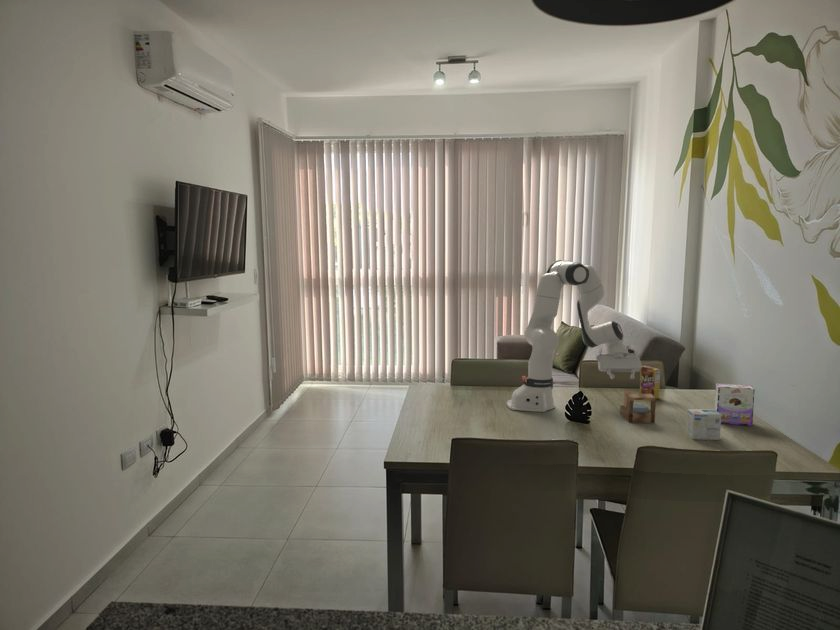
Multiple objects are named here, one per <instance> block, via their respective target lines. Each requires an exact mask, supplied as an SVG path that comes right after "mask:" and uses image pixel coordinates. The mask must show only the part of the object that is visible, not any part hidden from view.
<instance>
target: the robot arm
mask: <svg viewBox="0 0 840 630" xmlns="http://www.w3.org/2000/svg"><path fill="white" fill-rule="evenodd" d="M564 285H567V286H576V287H577V290H578V291H579V292H578V293H579V299H578V300H577V303H576V308H577V313H578V319H579V323H580V324H579V325H580V328H581V336H582V341H583V343H584V345H585V346H587V348H591V349H593V348H595V347H598V346H602V345H605V346H606V353H599V354H598V355H596V357H595V358H596V361H597V364H598V366H597V367H598V371H599V372H600V373H601V372H603V373H604V372H606V374H607V375H608V376H609V377H610V380H615V378H616V376H615V374H614V373H615V372H617V373H618V372H619V373H623V372H624V373H625V372H627V373H629V372H630V373H631V374H630V376H629V378H630V380H634V379H635V378H636V377H635V373H636V372H641V369H642V366H643V364H642V362H641V359H640V357H639V355H637V350H636V349H632V348H628V347H626V346H625V344H624V333H623V330H622V327H621V325H620V323H618V322H616V321H613V320H612V321H607V322H604V323H602V324H601V323H600V324H598V325H594V326H590V322H589V317H588V313H589V312H590V310H591V309H592V308H593V307H596V305H598V304H599V303H600V302H601V301H602V299H604V294H605V290H604V286H603V282H602V280H601V279H600V276H599V275H598V273H597V271H596V270H595V268H594V267H593V266H592V265H590V264H582V263H580V262H576V261H572V260H561V259H559V260H555V261H553V262H551V263H550V264H549V267H548V268H547V271H546V273H544V274H542V275H541V276H540V279H539V281H538V284H537V287H536V293H535V298H534V305H533V309H532V314H531V316H530V319H529V322H528V324H527V325H528V326H526V328H525V330H524V338H525V340H526V342H527V343H528V345H531V347H532V350H531V353H530V354H531V355H530V357H529V359H528V368H527V369H528V373H527V374H528V375H527V376H526V375H522V377H521V380H522V381H523V384H522V385H521V386H519V387H518V388H516V389H515V390H514V391H513V393H512V395H511V399H509V400H507V401H506V406H507V407H508V408H509V409H510V410H512V411H521V412H524V411H525V412H540V413H544V412H547V411H549V410H553V409H554V408H555V407H556V405H555V401H554V397H553V396H554V395H553V390H554V389H553V388H554V378H553V362H554V357H555V352H556V349H557V348H558V346H559V345H560V344H559V343H560V340H559V339H560V338H559V336H558V334H557V333H556V332H555V330H553V329H552V325H553V322H554V320H555V318H556V317H557V315H558V311H559V305H560V299H561V292H562V288H563V287H564ZM612 372H614V373H612Z"/></svg>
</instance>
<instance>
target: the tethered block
mask: <svg viewBox="0 0 840 630" xmlns="http://www.w3.org/2000/svg"><path fill="white" fill-rule="evenodd" d="M625 394H635V392H634V391H632V390H624V394H623V395H624V397H623V405H624V406H625V407H626V408H627V409H628V403H629V399H628V398H627V397H626V396H625ZM634 401H635V400H633V413H647V412H648V408H649V407H647V406H646V405H644V403H634Z"/></svg>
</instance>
